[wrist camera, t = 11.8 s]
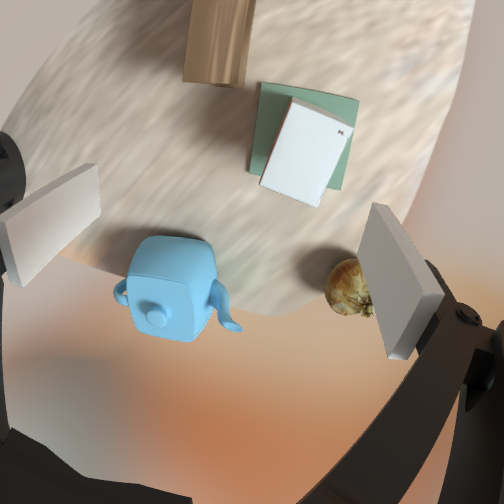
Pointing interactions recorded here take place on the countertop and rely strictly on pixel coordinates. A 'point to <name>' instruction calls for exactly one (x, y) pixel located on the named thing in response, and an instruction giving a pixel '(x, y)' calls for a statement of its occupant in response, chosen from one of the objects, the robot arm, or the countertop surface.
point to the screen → (219, 42)
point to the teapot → (174, 288)
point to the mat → (273, 112)
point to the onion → (348, 289)
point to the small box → (305, 152)
